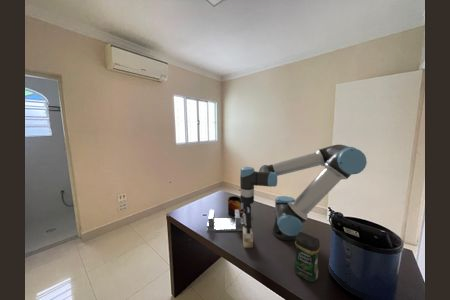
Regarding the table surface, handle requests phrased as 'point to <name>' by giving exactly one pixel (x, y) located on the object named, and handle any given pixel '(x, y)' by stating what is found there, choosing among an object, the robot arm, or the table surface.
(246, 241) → the block
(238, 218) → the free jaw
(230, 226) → the vise bed
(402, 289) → the table surface
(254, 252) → the table surface
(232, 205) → the mug
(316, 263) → the coffee jar
